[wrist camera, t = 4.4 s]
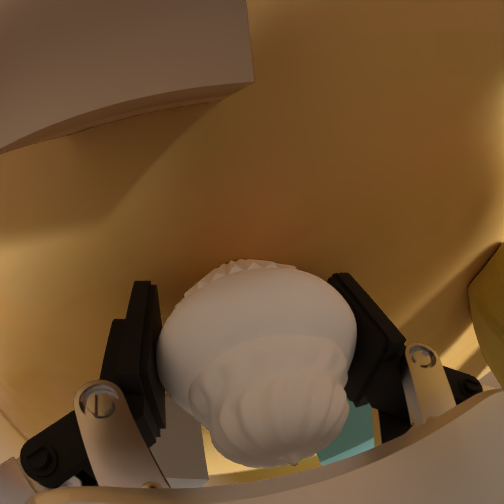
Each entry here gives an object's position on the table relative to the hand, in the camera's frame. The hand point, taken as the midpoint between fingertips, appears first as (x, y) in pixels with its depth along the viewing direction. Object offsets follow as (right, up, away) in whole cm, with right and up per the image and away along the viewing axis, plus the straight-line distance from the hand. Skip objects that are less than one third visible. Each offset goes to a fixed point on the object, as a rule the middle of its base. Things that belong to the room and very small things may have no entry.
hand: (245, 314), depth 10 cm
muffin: (0, +1, +1) cm, 1 cm away
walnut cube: (-3, +9, -4) cm, 10 cm away
